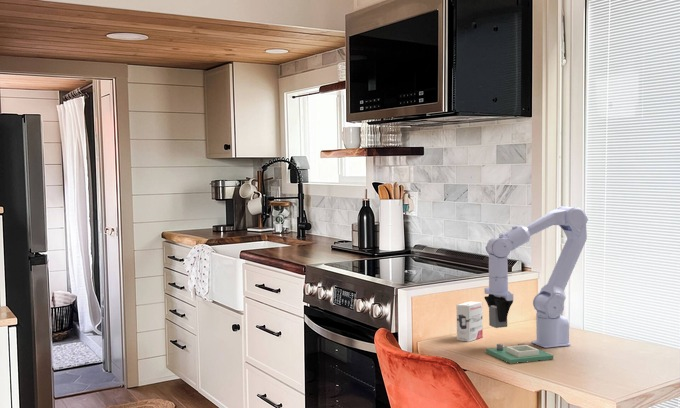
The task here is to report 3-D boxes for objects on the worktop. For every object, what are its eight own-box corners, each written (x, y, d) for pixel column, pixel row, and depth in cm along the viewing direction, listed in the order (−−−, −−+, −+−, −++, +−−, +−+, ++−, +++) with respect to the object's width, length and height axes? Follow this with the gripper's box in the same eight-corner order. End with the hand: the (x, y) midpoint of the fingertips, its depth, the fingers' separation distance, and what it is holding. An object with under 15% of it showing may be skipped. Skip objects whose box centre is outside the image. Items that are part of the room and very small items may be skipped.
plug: (500, 324, 216) (500, 304, 216) (507, 326, 212) (506, 306, 212) (489, 325, 215) (488, 305, 215) (495, 327, 211) (495, 307, 211)
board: (526, 348, 211) (526, 339, 211) (553, 359, 198) (553, 349, 198) (486, 352, 207) (485, 343, 207) (510, 364, 194) (510, 354, 194)
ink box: (470, 335, 230) (470, 300, 230) (483, 337, 227) (483, 302, 227) (456, 340, 224) (455, 304, 224) (469, 342, 221) (469, 305, 220)
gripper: (475, 274, 219) (476, 316, 219) (498, 280, 205) (498, 325, 205) (495, 273, 221) (496, 315, 221) (519, 279, 207) (519, 324, 207)
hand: (498, 320), depth 213 cm, fingers closed on plug, 4 cm apart
